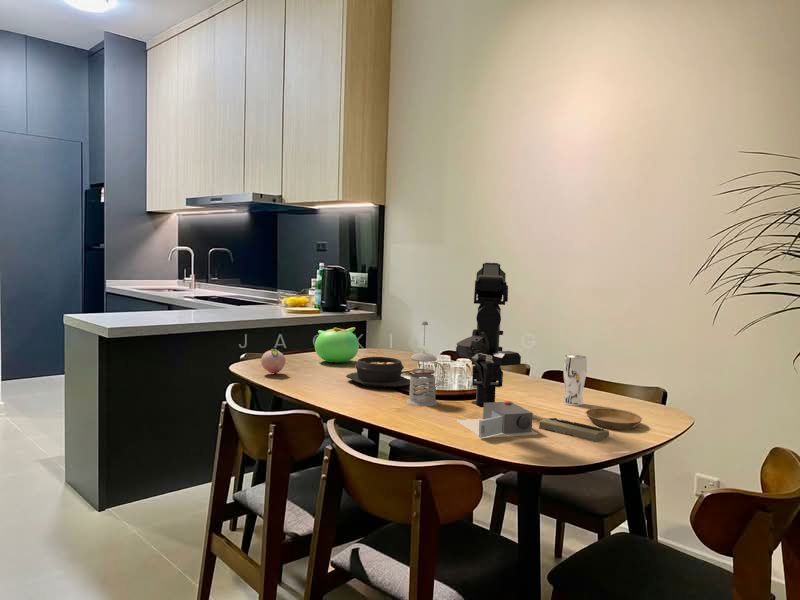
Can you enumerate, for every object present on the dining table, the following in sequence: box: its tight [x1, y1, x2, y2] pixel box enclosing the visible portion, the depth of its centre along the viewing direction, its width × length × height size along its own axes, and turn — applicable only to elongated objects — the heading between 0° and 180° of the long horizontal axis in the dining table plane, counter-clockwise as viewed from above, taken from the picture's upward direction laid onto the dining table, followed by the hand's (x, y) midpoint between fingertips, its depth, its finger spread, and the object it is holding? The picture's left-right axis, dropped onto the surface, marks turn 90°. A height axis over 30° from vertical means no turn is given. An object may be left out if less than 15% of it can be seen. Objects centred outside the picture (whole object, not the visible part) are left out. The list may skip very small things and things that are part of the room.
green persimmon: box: [314, 326, 360, 364], centre depth 243 cm, size 18×17×15 cm
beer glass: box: [562, 354, 588, 407], centre depth 185 cm, size 7×7×15 cm
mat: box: [456, 418, 539, 439], centre depth 156 cm, size 16×16×1 cm
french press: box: [406, 320, 446, 407], centre depth 180 cm, size 10×12×25 cm
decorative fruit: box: [260, 347, 286, 374], centre depth 214 cm, size 9×8×10 cm
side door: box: [478, 416, 504, 439], centre depth 147 cm, size 8×1×4 cm, turn 129°
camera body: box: [482, 400, 533, 434], centre depth 156 cm, size 13×8×6 cm, turn 18°
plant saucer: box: [585, 407, 643, 430], centre depth 164 cm, size 15×15×3 cm
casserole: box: [345, 356, 410, 388], centre depth 204 cm, size 25×19×8 cm
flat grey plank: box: [538, 417, 610, 443], centre depth 153 cm, size 16×8×3 cm, turn 49°
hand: (485, 387), depth 150 cm, fingers closed
